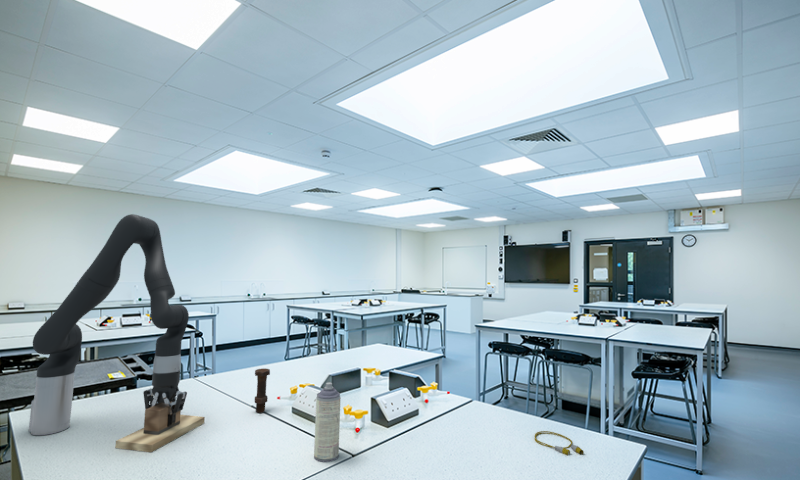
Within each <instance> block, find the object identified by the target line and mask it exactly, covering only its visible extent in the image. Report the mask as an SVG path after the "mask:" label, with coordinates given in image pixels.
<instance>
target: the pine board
mask: <svg viewBox="0 0 800 480" xmlns="http://www.w3.org/2000/svg"><path fill="white" fill-rule="evenodd" d="M205 419H206V417H205V416H199V415H188V414H180V424H178V425H176V426H174V427H172V428H170V429H169V430H167V431H165V432H163V433H161V434H159V435H153V434H144V433H143V432H144V427H143V428H140V429H138V430H136V431H134V432H131V433H130V434H128V435H125V436H122V437H121V438H119V439H117V440H115V449H119V450H128V451H137V452H144V453H145V452H146V453H153V452H155V451H157V450H158V449H160V448H162V447H164V446H165V445H168V444H169V443H171V442H173V441H175V440H176V439H178V438H180V437H182V436H183V435H186V434H188V433H189V432H190V431H194V430H195V429H197V428H198V427H200V426H201V425H204V424H205Z"/></svg>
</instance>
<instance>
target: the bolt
mask: <svg viewBox="0 0 800 480" xmlns="http://www.w3.org/2000/svg"><path fill="white" fill-rule="evenodd" d="M254 375H255V376H256V378H257V379H256V380H257V382H256V383H257V384H256V396H254V403H255V412H256V413H258V414H262V413H264V412H265V411H266V403H267V402H268V395H267V379H268V376H270V375H271V370H270V369H269V368H264V367H263V368H256V369H255V370H254Z"/></svg>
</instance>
